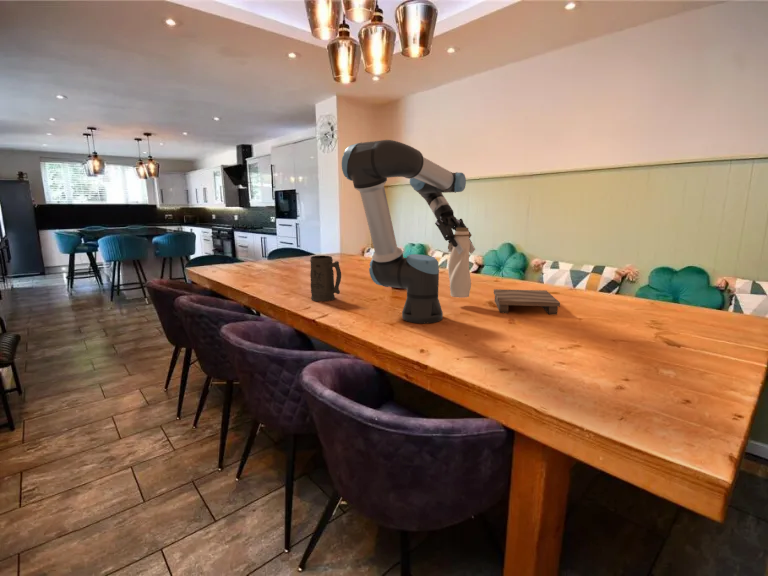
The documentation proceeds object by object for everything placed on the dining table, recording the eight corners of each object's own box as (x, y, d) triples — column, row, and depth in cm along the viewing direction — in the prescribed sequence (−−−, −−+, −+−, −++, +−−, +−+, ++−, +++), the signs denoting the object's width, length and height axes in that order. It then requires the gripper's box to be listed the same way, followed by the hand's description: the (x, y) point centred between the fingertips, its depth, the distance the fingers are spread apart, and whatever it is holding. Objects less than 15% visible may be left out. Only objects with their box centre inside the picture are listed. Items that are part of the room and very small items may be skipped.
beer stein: (305, 300, 175) (305, 256, 170) (316, 295, 185) (316, 253, 180) (336, 305, 170) (338, 260, 166) (346, 299, 180) (347, 257, 176)
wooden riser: (559, 315, 147) (560, 302, 146) (499, 313, 150) (499, 301, 149) (545, 301, 168) (546, 290, 167) (493, 300, 172) (493, 289, 170)
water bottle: (443, 296, 160) (445, 228, 154) (448, 292, 168) (450, 227, 162) (468, 298, 156) (471, 228, 150) (472, 294, 164) (475, 227, 158)
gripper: (454, 216, 173) (479, 256, 162) (420, 216, 164) (444, 259, 153) (462, 203, 167) (489, 244, 157) (428, 203, 158) (454, 246, 147)
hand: (467, 251), depth 155 cm, fingers closed on water bottle, 5 cm apart
